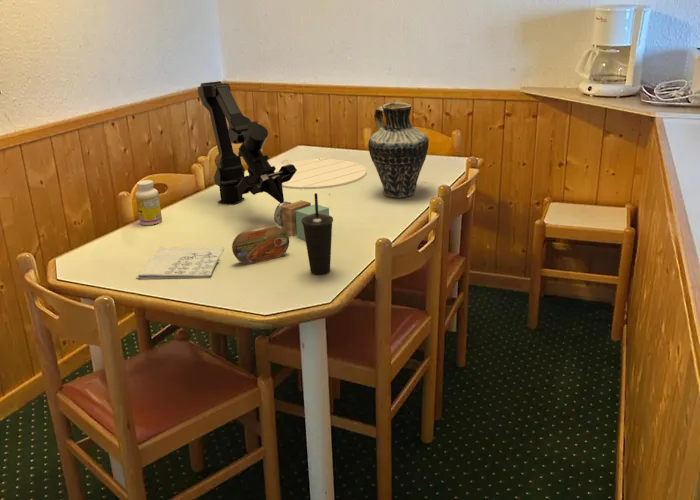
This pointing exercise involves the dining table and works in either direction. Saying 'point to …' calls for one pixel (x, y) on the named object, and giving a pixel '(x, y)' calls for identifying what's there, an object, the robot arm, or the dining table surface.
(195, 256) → the folded printed napkin
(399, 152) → the jug
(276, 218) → the metal mushroom knob
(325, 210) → the socket block
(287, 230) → the sleeve block
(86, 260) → the dining table surface
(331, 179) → the lazy susan
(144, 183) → the supplement bottle
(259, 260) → the tin
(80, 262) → the dining table surface
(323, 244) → the drinking cup
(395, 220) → the dining table surface
